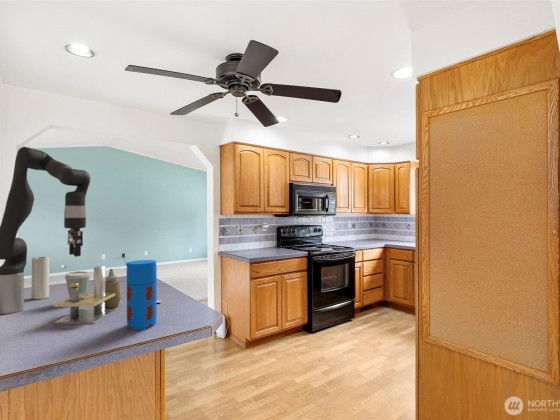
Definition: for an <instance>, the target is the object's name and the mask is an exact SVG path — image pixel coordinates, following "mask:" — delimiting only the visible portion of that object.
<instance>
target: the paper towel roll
mask: <svg viewBox="0 0 560 420" xmlns="http://www.w3.org/2000/svg"><path fill="white" fill-rule="evenodd" d="M49 297H50V257H49V256H41V257H40V256H39V257H32V258H31V298H32V299H34V300H43V299H47V298H49Z"/></svg>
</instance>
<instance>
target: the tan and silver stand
mask: <svg viewBox="0 0 560 420" xmlns="http://www.w3.org/2000/svg"><path fill="white" fill-rule="evenodd" d="M105 281H106V266H105V265H98V266H94V267H93V292H87V293H79V301H78V302H70V297H69V296H68V297H67V298H64V299H62V300H59V301H57V302H55V303H53V307H56V308H57V307H60V308H61V307H64V308H65V307H70V306H79V307H93V308H91V309H80V308H79V317H78V318H75V319H70V313H69V314H67V315H66V316H64V317H62V318H59V319H57V320H55V321H54V322H53V325H91V324H92V325H93V324H96V323H97V322H99V321H101V320H102V319H104V318H106V317H107V316H110V315H111V314H112V313H114V312H116V309H115V308H105V300H107V299H109V298H111V297H113V296H115V293H105Z"/></svg>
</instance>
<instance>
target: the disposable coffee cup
mask: <svg viewBox="0 0 560 420" xmlns="http://www.w3.org/2000/svg"><path fill="white" fill-rule="evenodd" d="M90 277H91V274H90V272H88V271H84V270H74V271H69V272H66V274H65V276H64V279H65V282H66V286H67V291H68V298H69V297H70V284H73V283H79V293H89V292H88V291H89V283H90Z"/></svg>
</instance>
